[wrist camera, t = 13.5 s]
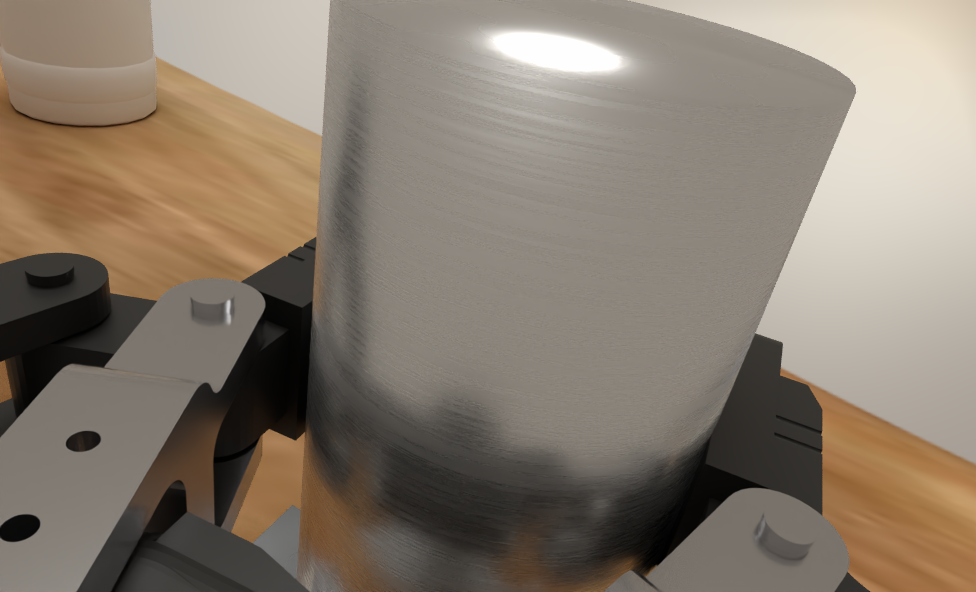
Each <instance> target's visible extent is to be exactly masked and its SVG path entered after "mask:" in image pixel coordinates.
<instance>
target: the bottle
mask: <svg viewBox="0 0 976 592" xmlns="http://www.w3.org/2000/svg"><path fill="white" fill-rule="evenodd" d="M0 44H1V47H0V57H1V64H2V70H3V74H4V78H5V80H6V81H7V86H8V92H9V98H10V102H11V103H12V105H13V106H14V108H15V109H16V110H18V111H19V112H21V113H23V114H25V115H27V116H29V117H32V118H34V119H38V120H42V121H46V122H51V123H55V124H65V125H75V126H107V125H115V124H123V123H129V122H132V121H136V120H139V119H142V118H145V117H146V116H148V115H149V114H150V113H152V112H153V111H154V110H156V105H157V97H156V84H157V67H156V57H155V53H154V50H153V35H152V19H151V3H150V0H0Z"/></svg>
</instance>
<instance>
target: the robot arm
mask: <svg viewBox="0 0 976 592" xmlns="http://www.w3.org/2000/svg"><path fill="white" fill-rule="evenodd" d="M315 254H316V237H315V238H314V239H312V240H310V241H309V242H307V243H305V244H304V246H303V247H301V246H300V247H298V248H297V249H295V250H293V251H292V252H290V253H288V256H287V257H286V256H283V257H282V258H280V259H278V260H277V261H275V262H273V263H272V264H270V265H268V266H267V267H265V268H263V269H262V270H260V271H258V272H257V273H255V274H253V275H252V276H250V277H248V278H247V279H245V280H243V281H242V282H238V281H233V280H228V279H213V278H211V279H199V280H193V281H189V282H185V283H182V284H179V285H177V286H175V287H173V288H171V289H169V290H168V291H166V292H165V293H164V294H163V295H162V296H161V297H160V299H159V300H158V301H154V300H148V299H142V298H136V297H130V296H124V295H117V294H111V293H110V287H109V278H108V271H107V269H106V267H105V266H104V265H103V264H102V263H101V262H99V261H97V260H95V259H93V258H90V257H87V256H83V255H79V254H72V253H46V254H38V255H32V256H28V257H24V258H20V259H16V260H13V261H9V262H6V263H2V264H0V362H1V361H3V360H5V363H6V368H7V373H8V379H9V384H10V389H11V394H12V399H9V400H7V401H4V402H2V403H0V592H310V591H309V590H307V589H306V588H305V587H304V586H303V585H302V584H301V583H300V582H299V581H297V580H296V579H295V578H294V577H293V576H292V575H291V574H290V573H289V572H288V571H286V570H285V569H284V568H283V567H282V566H281V565H280V564H279V563H278V562H276V561H275V560H274V559H273V558H272V557H271V556H270V555H269V554H268V553H266V552H265V551H264V550H263V549H262V548H261V547H259V546H257V545H255V544H253V543H251V542H249V541H247V540H245V539H242V538H240V537H238V536H236V535H234V534H232V533H231V531H232V528H233V526H234V524H235V521H236V519H237V516H238V514H239V511H240V509H241V507H242V504H243V502H244V499H245V497H246V494H247V492H248V490H249V487H250V485H251V482H252V480H253V478H254V475H255V473H256V470H257V468H258V465H259V463H260V461H261V457H262V436H263V434H264V433H265V432H266V431H267V430H268V429H271V430H273V431H275V432H278V433H280V434H282V435H284V436H287V437H289V438H291V439H293V440H297V439H298V438H299V437H300V436H301V435H302V434H303V433H304V432H305V426H306V408H307V391H308V374H309V357H310V340H311V323H312V305H313V288H314V271H315ZM782 347H783V344H782V342H779V341H776V340H773V339H770V338H767V337H764V336H761V335H758V334H755V335H754V337H753V339H752V342H751V344H750V347H749V349H748V351H747V354H746V356H745V359H744V361H743V363H742V366H741V368H740V370H739V373H738V375H737V378H736V380H735V382H734V385H733V387H732V390H731V392H730V394H729V397H728V399H727V401H726V404H725V406H724V409H723V411H722V413H721V416H720V418H719V421H718V423H717V425H716V427H715V429H714V430H713V432H712V435H711V437H710V439H709V442H708V444H707V447H706V449H705V451H704V454H703V456H702V458H701V461H700V463H699V466H698V468H697V470H696V473H695V475H694V478H693V480H692V482H691V485H690V487H689V490H688V492H687V494H686V497H685V499H684V501H683V504H682V506H681V509H680V511H679V513H678V516H677V518H676V521H675V523H674V525H673V528H672V530H671V533H670V535H669V537H668V540H667V542H666V545H665V547H664V549H663V552H662V554H661V556H660V559H659V561H658V564H657V567H656V568H655V569H654V570H653V571H652V572H651V573H650V574H649V575H648V576H646V577H644V576H643V575H642V574H641V573H639V572H638V571H637V570H635V569H633V570H630V571H628V572H626V573H625V574H623V575H622V576H621V577H619V578H618V579H617V580H616V581H615V582H614V583H613V584H612V585H610V586H609V587H608V588H607V589H606V590H605V591H604V592H870V591H869V590H867V589H866V588H865V587H863V586H862V585H861V584H860V583H859V582H858V581H856V580H855V579H854V578H853V577H852V576H851V575H850V574H849V573H848V572H847V571H848V569H849V554H848V551H847V548H846V545H845V543H844V541H843V540H842V538H841V536H840V535H839V533H838V532H837V531H836V529H835V528H834V527H833V526H832V525H831V524H830V523H829V522H828V521H827V520H826V519H825V518H824V517H823V516H822V454H821V452H822V436H821V433H822V408H821V406H820V405H819V403H818V401H817V400H816V398H815V396H814V395H813V393H812V391H811V390H810V388H809V386H808V385H806V384H803V383H800V382H797V381H794V380H791V379H788V378H786V377H783V376H780V369H781V358H782Z"/></svg>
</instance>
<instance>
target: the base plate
mask: <svg viewBox="0 0 976 592" xmlns="http://www.w3.org/2000/svg"><path fill="white" fill-rule="evenodd" d="M300 512H301V510H300V509H298V508H296V507H295V506H293V505H292V506H291V507H290V508H289V509H288V510H287V511H286V512H285V513H284V514H283V515H281V516H280V517H279V518H278V519H277V520H276V521H275V522H274V523H273V524H272V525H271V526H270V527H269V528H268V529H267V530H266V531H265V532H264V533H263V534H262V535H261V536H260V537H258V538H257V539H256V540H255V541H254V542H253V544H255V545H257V546H259V547H261V548H262V549H263V550H264V551H265V552H266V553H268V554H269V555H270V556H271V557H272V558H273V559H274V560H275V561H276V562H278V563H279V564H280V565H281V566H282V567H283V568H284V569H285V570H286V571H288V572H289V573H290V574H291V575H292V576H293V577H294V578H295V579H296V580H297V563H298V546H299V529H300Z"/></svg>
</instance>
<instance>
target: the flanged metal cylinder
mask: <svg viewBox="0 0 976 592" xmlns="http://www.w3.org/2000/svg"><path fill="white" fill-rule="evenodd" d="M329 14H330V15H329V30H328V48H327V65H326V83H325V100H324V116H323V133H322V134H323V135H322V151H321V168H320V185H319V202H318V219H317V237H316V254H315V271H314V288H313V305H312V323H311V340H310V357H309V374H308V391H307V408H306V426H305V443H304V460H303V477H302V494H301V512H300V529H299V546H298V563H297V581H299V582H300V583H301V584H302V585H303V586H304V587H305V588H306V589H307V590H309V591H310V592H604V591H605V590H606V589H607V588H608V587H609V586H610V585H612V584H613V583H614V582H615V581H616V580H617V579H618V578H619V577H621V576H622V575H623V574H625V573H626V572H628V571H630V570H633V569H635V570H637V571H638V572H639V573H641V574H642V575H643V576H644V577H646V576H648V575H649V574H650V573H651V572H652V571H653V570H654V569H655V568H656V567H657V564H658V561H659V559H660V556H661V554H662V552H663V549H664V547H665V545H666V542H667V540H668V537H669V535H670V533H671V530H672V528H673V525H674V523H675V521H676V518H677V516H678V513H679V511H680V509H681V506H682V504H683V501H684V499H685V497H686V494H687V492H688V490H689V487H690V485H691V482H692V480H693V478H694V475H695V473H696V470H697V468H698V466H699V463H700V461H701V458H702V456H703V454H704V451H705V449H706V447H707V444H708V442H709V439H710V437H711V435H712V432H713V430H714V429H715V427H716V425H717V423H718V421H719V418H720V416H721V413H722V411H723V409H724V406H725V404H726V401H727V399H728V397H729V394H730V392H731V390H732V387H733V385H734V382H735V380H736V378H737V375H738V373H739V370H740V368H741V366H742V363H743V361H744V359H745V356H746V354H747V351H748V349H749V347H750V344H751V342H752V339H753V337H754V335H755V332H756V330H757V328H758V325H759V323H760V320H761V318H762V315H763V313H764V311H765V308H766V306H767V304H768V301H769V299H770V297H771V294H772V292H773V289H774V287H775V284H776V282H777V280H778V277H779V275H780V273H781V270H782V268H783V265H784V263H785V261H786V258H787V256H788V253H789V251H790V249H791V246H792V244H793V241H794V239H795V237H796V234H797V232H798V230H799V227H800V225H801V223H802V220H803V218H804V215H805V213H806V211H807V208H808V206H809V203H810V201H811V199H812V196H813V194H814V192H815V189H816V187H817V184H818V182H819V179H820V177H821V175H822V172H823V170H824V168H825V165H826V163H827V160H828V158H829V156H830V153H831V151H832V149H833V146H834V144H835V141H836V139H837V137H838V134H839V132H840V130H841V127H842V125H843V122H844V120H845V118H846V115H847V113H848V110H849V108H850V106H851V103H852V101H853V99H854V96H855V94H856V88H855V85H854V84H853V83H852V82H851V80H850V79H849V78H847V77H846V76H845V75H843V74H842V73H841V72H839V71H838V70H836V69H834V68H832V67H831V66H829V65H827V64H825V63H823V62H821V61H819V60H817V59H815V58H813V57H811V56H808V55H806V54H804V53H801V52H799V51H797V50H794V49H792V48H789V47H786V46H784V45H781V44H778V43H776V42H773V41H770V40H767V39H764V38H762V37H758V36H756V35H753V34H750V33H746V32H743V31H740V30H737V29H734V28H731V27H727V26H724V25H720V24H717V23H714V22H710V21H707V20H703V19H699V18H695V17H692V16H688V15H685V14H681V13H676V12H673V11H669V10H665V9H660V8H657V7H653V6H648V5H644V4H640V3H635V2H631V1H627V0H330V13H329Z"/></svg>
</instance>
